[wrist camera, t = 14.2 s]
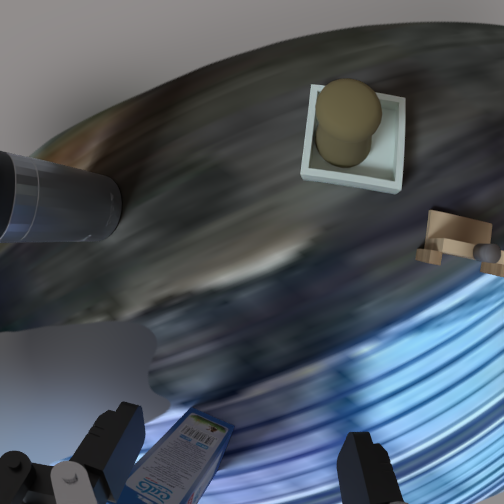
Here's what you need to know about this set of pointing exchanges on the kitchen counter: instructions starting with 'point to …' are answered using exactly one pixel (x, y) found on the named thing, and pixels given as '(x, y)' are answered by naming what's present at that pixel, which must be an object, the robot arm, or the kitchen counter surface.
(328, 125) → the cork
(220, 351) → the kitchen counter surface
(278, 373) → the kitchen counter surface
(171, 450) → the milk carton
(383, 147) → the tray
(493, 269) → the bracket
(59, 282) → the kitchen counter surface
